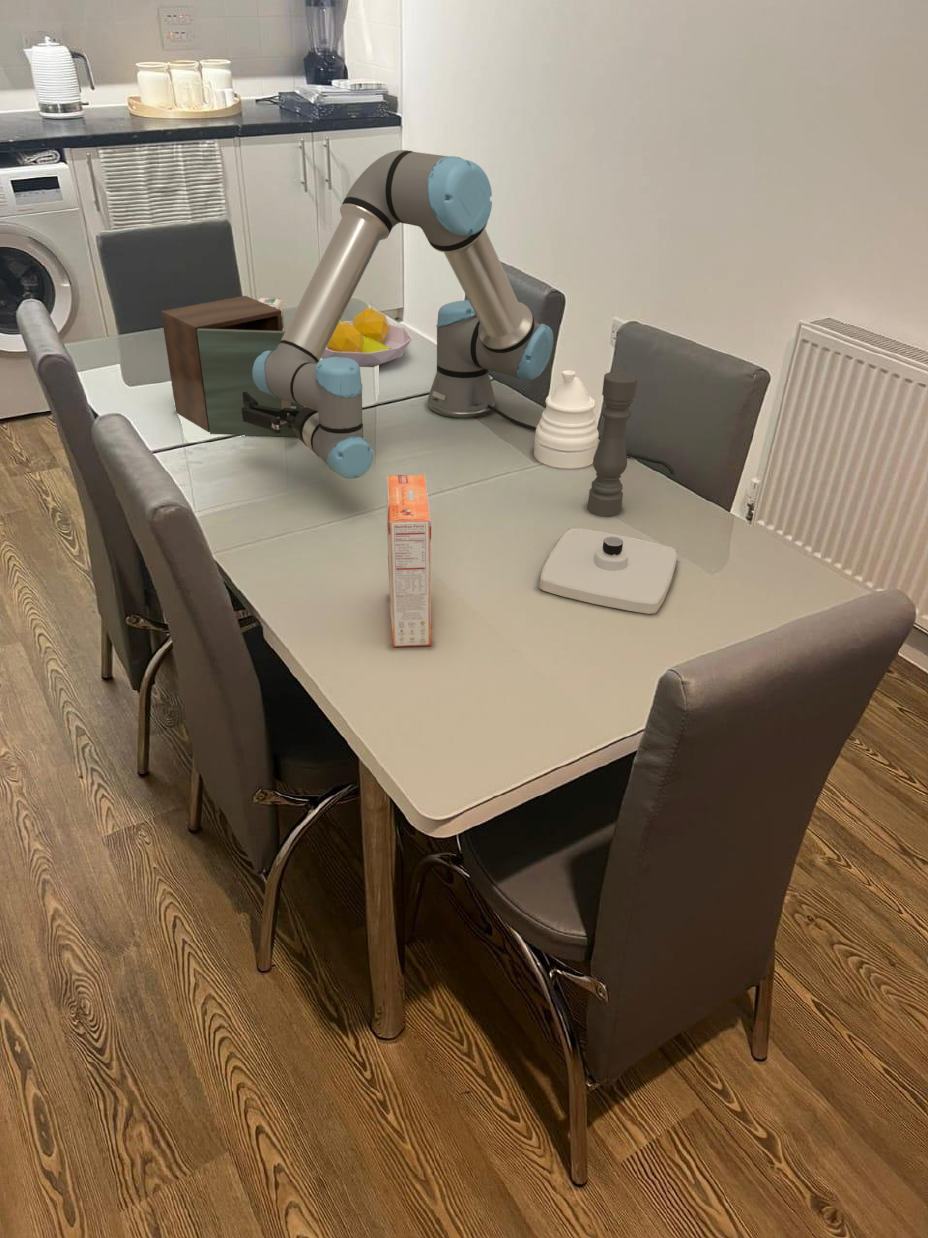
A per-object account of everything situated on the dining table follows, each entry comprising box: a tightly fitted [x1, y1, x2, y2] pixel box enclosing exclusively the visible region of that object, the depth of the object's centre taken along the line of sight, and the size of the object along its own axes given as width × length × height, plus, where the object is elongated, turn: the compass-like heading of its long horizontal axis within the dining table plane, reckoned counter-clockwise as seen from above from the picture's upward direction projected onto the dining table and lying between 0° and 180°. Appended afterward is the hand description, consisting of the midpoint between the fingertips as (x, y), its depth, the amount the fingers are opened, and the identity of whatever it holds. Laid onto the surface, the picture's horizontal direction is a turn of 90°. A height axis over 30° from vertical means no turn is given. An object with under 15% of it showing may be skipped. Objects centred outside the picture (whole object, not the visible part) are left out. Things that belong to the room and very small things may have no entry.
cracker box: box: [386, 474, 432, 648], centre depth 134 cm, size 14×6×21 cm, turn 5°
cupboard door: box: [197, 328, 305, 438], centre depth 187 cm, size 8×20×22 cm, turn 90°
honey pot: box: [533, 369, 600, 470], centre depth 187 cm, size 13×13×18 cm
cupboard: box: [160, 295, 283, 433], centre depth 200 cm, size 14×20×22 cm
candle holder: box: [587, 370, 638, 518], centre depth 165 cm, size 6×6×25 cm
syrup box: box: [257, 297, 286, 331], centre depth 232 cm, size 6×6×14 cm
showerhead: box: [539, 527, 678, 615], centre depth 151 cm, size 20×6×20 cm
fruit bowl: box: [321, 307, 413, 368], centre depth 235 cm, size 28×27×11 cm
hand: (277, 392), depth 186 cm, fingers open, 13 cm apart
